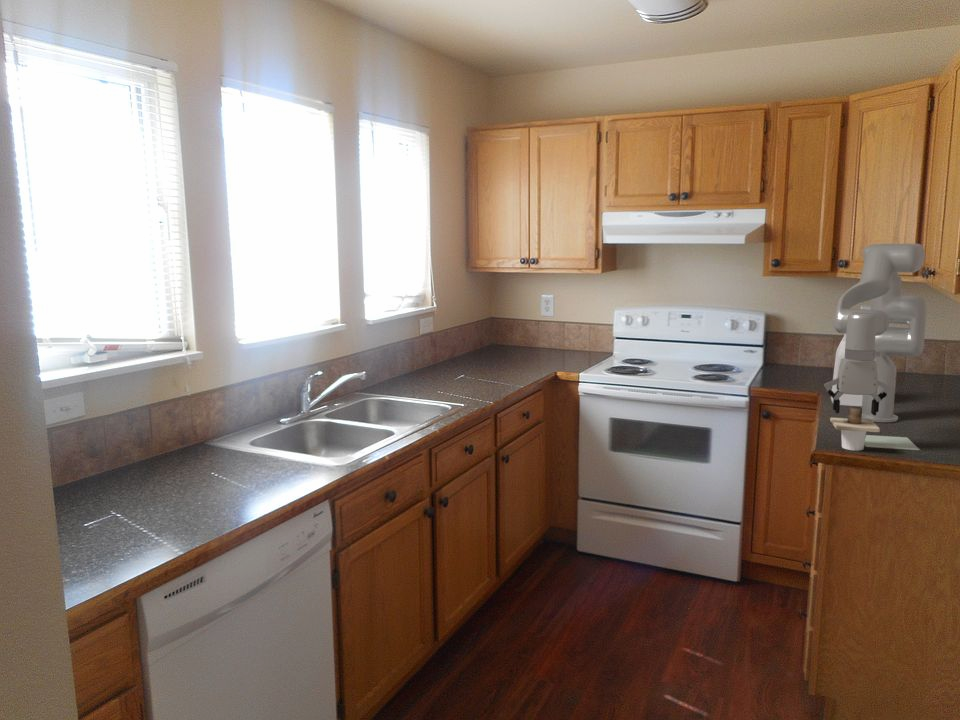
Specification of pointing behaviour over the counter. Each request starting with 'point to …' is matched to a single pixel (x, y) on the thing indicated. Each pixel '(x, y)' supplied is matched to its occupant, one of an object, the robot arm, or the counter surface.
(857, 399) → the milk
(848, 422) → the lid
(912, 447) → the mat
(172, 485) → the counter surface
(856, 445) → the white cup
